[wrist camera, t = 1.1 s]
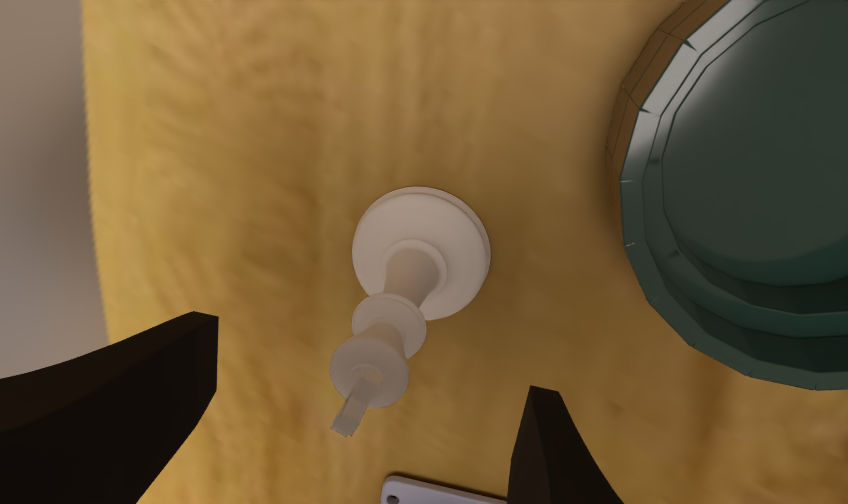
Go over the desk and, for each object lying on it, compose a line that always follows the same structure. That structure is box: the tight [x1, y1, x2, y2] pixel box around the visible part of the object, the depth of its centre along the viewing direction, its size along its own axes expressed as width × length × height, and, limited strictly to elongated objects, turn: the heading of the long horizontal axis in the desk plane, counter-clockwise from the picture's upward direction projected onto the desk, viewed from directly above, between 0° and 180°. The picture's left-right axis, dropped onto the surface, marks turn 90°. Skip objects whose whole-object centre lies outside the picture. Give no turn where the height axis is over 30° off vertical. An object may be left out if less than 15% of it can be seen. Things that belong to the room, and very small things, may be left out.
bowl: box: [606, 0, 848, 391], centre depth 18 cm, size 12×12×4 cm
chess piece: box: [330, 186, 491, 437], centre depth 19 cm, size 5×5×10 cm
